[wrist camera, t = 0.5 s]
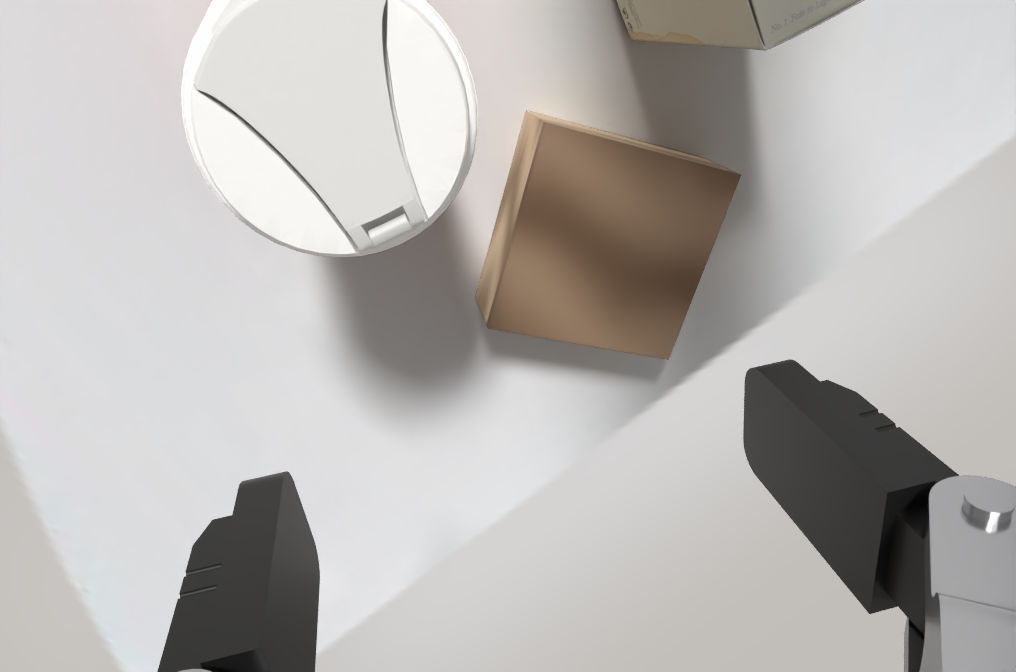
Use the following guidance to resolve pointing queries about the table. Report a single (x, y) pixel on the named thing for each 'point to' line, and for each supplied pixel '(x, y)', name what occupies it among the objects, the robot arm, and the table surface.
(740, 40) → the skincare box
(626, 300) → the pedestal
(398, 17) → the coffee cup
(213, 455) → the table surface
